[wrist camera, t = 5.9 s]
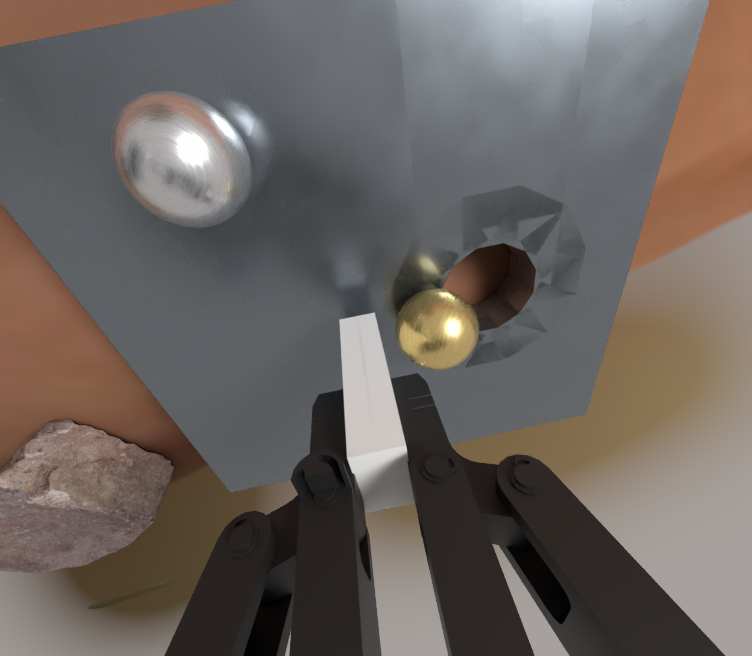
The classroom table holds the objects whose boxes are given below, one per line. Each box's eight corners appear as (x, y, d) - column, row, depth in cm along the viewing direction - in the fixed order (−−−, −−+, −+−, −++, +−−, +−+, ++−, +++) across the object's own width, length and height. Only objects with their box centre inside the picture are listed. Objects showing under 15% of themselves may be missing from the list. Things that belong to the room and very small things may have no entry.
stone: (-25, 497, 22) (-98, 578, 18) (49, 398, 19) (-22, 471, 15) (115, 532, 27) (80, 603, 23) (196, 456, 23) (170, 524, 19)
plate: (238, 459, 23) (230, 492, 21) (-24, 76, 11) (-107, 67, 9) (562, 387, 24) (585, 414, 22) (663, -60, 11) (739, -98, 9)
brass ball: (488, 352, 15) (423, 332, 17) (495, 283, 13) (420, 269, 15) (454, 399, 13) (383, 370, 15) (456, 325, 11) (374, 303, 13)
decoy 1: (181, 220, 12) (134, 255, 9) (123, 106, 10) (40, 103, 7) (274, 201, 12) (258, 229, 9) (236, 83, 10) (199, 71, 7)
